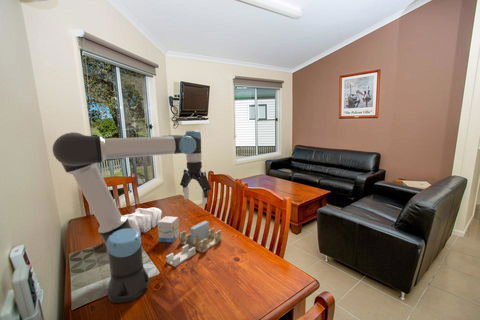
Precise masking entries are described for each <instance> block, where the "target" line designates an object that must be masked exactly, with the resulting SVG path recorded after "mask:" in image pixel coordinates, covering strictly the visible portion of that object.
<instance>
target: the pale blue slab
mask: <svg viewBox="0 0 480 320" xmlns="http://www.w3.org/2000/svg"><path fill="white" fill-rule="evenodd" d="M208 230H210V222H209V221H207V220H204V221H202V222H199V223H197V224H195V225H193V226H192V227H190V230H189V231H190V232H189V233H191V244H193V239H194V238H195V237H197V236H200V241H202V240H203V239H205V238H208Z"/></svg>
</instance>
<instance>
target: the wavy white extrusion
mask: <svg viewBox="0 0 480 320" xmlns="http://www.w3.org/2000/svg"><path fill="white" fill-rule="evenodd" d="M124 216H126V217H127V219H128V221H129V223H130V225H131V227H132V229H135V230H137V231H138V232H139V234H140V237H141V235H142V233H147V232H149V231H150V230H151V229H154V228H155V227H157V226H158V221H160V220H161V219H162V210H161V209H160V208H158V207H148V208H141V207H137V208H135V209H134V212H132V213H130V214H129V213H128V214H124Z"/></svg>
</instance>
